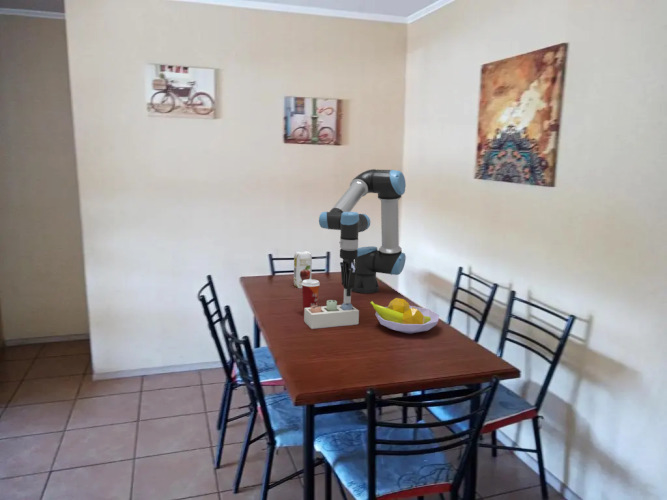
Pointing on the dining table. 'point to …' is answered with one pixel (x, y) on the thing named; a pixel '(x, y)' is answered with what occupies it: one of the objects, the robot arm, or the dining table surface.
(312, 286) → the coffee cup
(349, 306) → the button one
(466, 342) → the dining table surface
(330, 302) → the button two
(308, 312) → the panel
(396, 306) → the fruit bowl
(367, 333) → the dining table surface
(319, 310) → the button three
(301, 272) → the juice carton
